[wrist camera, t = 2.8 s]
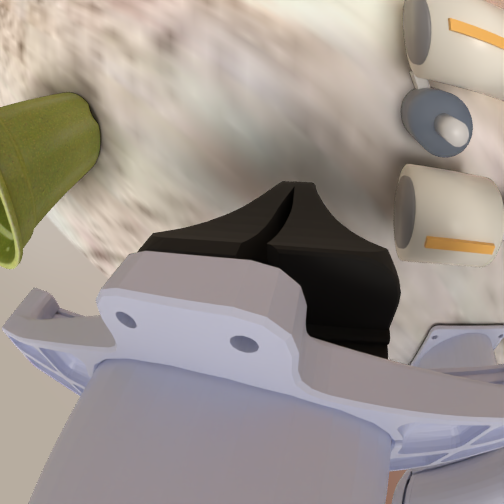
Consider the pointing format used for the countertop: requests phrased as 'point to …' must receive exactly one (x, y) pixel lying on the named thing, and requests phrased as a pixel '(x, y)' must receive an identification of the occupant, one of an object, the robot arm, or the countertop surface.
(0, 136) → the plant pot
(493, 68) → the knob
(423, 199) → the knob
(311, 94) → the countertop surface
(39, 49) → the countertop surface
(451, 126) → the potentiometer
